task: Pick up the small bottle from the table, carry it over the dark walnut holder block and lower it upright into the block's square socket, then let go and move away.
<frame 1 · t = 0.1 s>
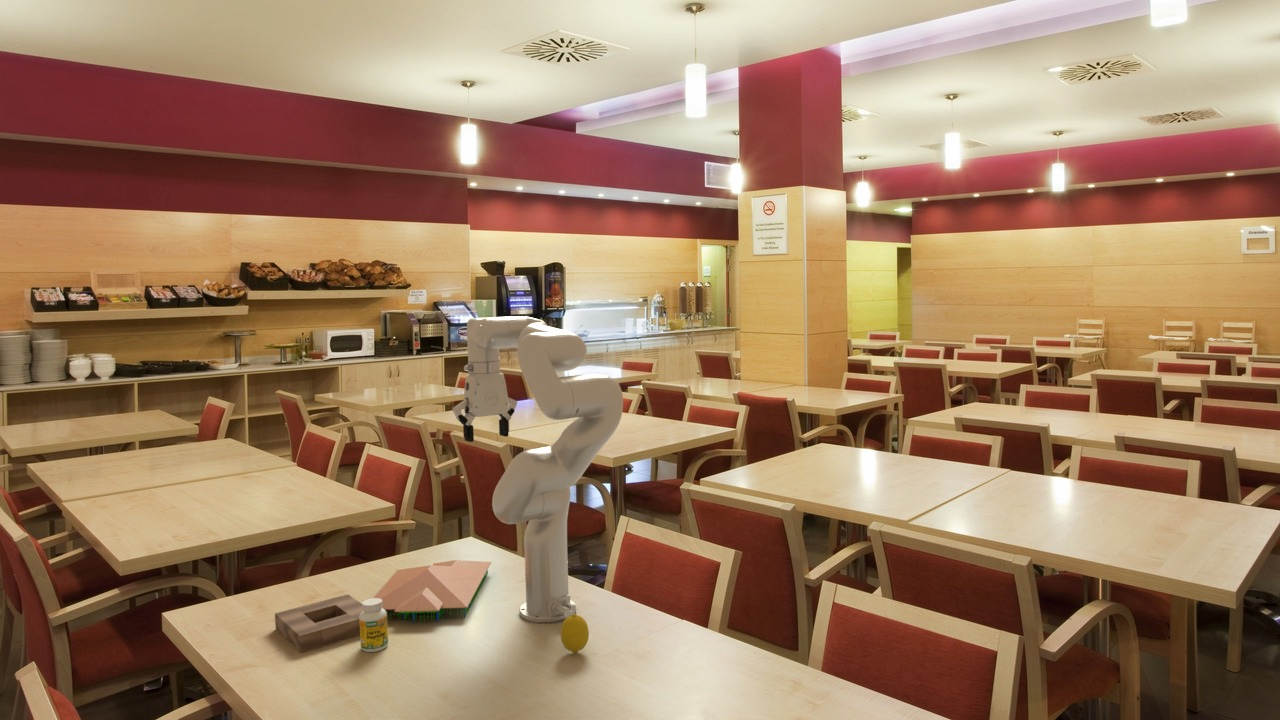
hand: (486, 438, 194), 37 cm above the table, tool pointing down, fingers open, 9 cm apart
lemon: (575, 654, 158), on the table
holder: (326, 629, 172), on the table
house: (431, 600, 189), on the table
supplement bottle: (374, 648, 163), on the table
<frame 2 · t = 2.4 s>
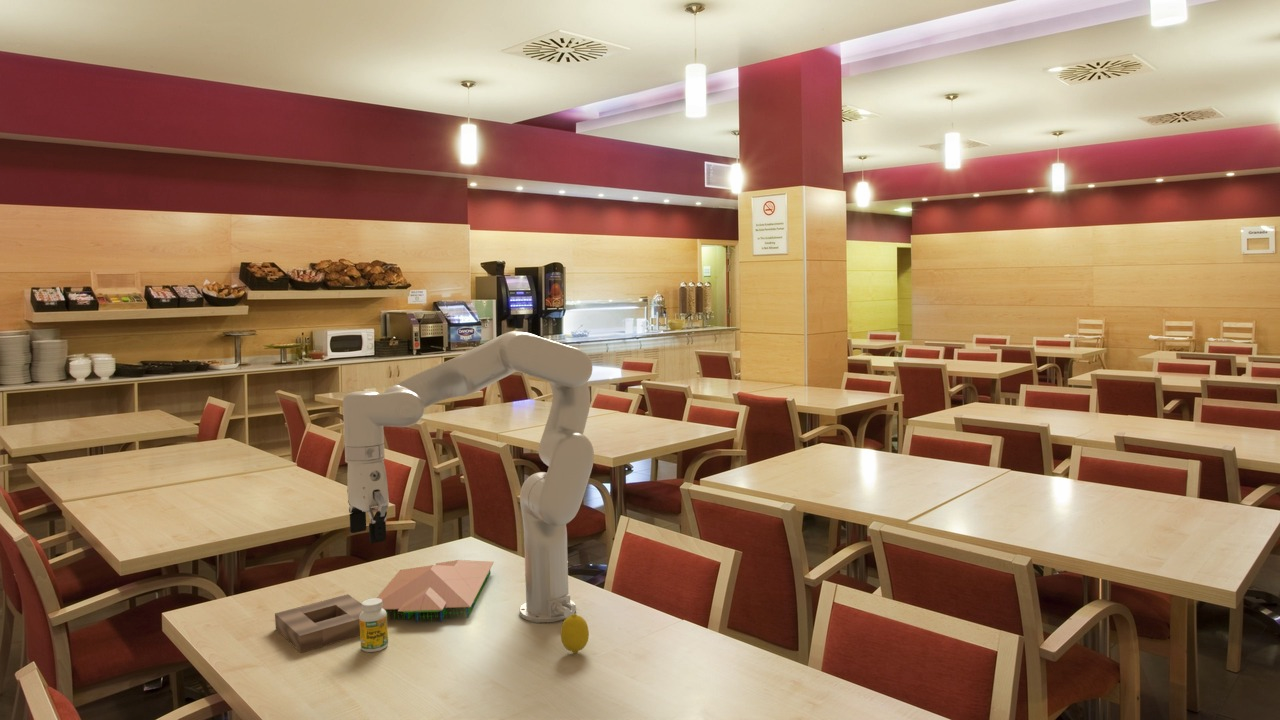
hand: (367, 536, 161), 23 cm above the table, tool pointing down, fingers open, 9 cm apart
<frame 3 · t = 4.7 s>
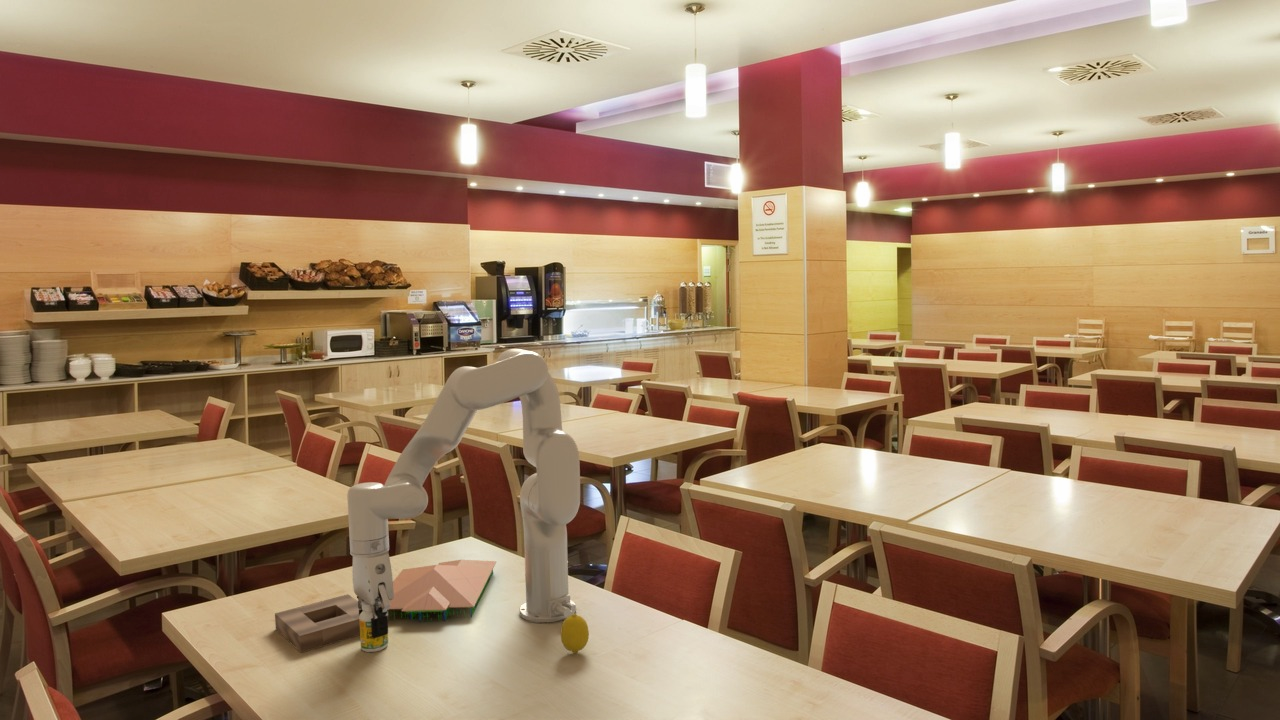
hand: (373, 630, 163), 4 cm above the table, tool pointing down, fingers closed on supplement bottle, 5 cm apart
supplement bottle: (374, 648, 163), on the table, touching gripper
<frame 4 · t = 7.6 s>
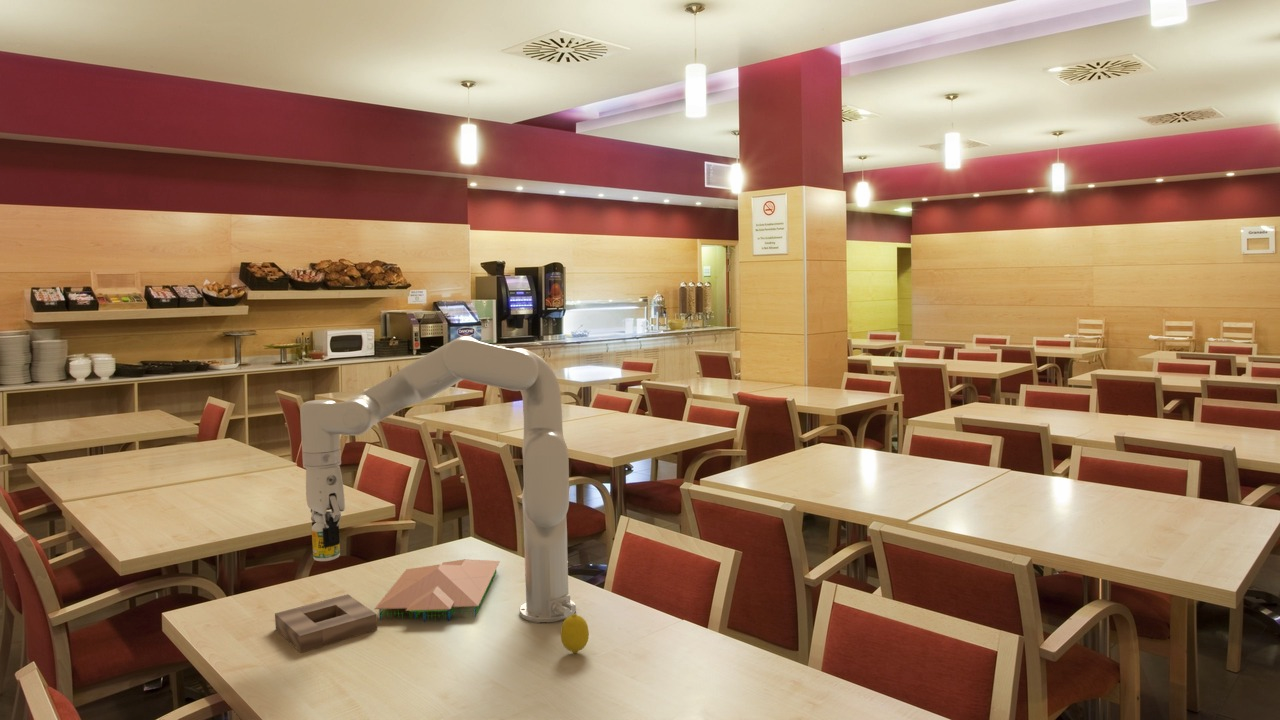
hand: (326, 541, 170), 20 cm above the table, tool pointing down, fingers closed on supplement bottle, 5 cm apart
supplement bottle: (326, 558, 170), point 16 cm above the table, touching gripper
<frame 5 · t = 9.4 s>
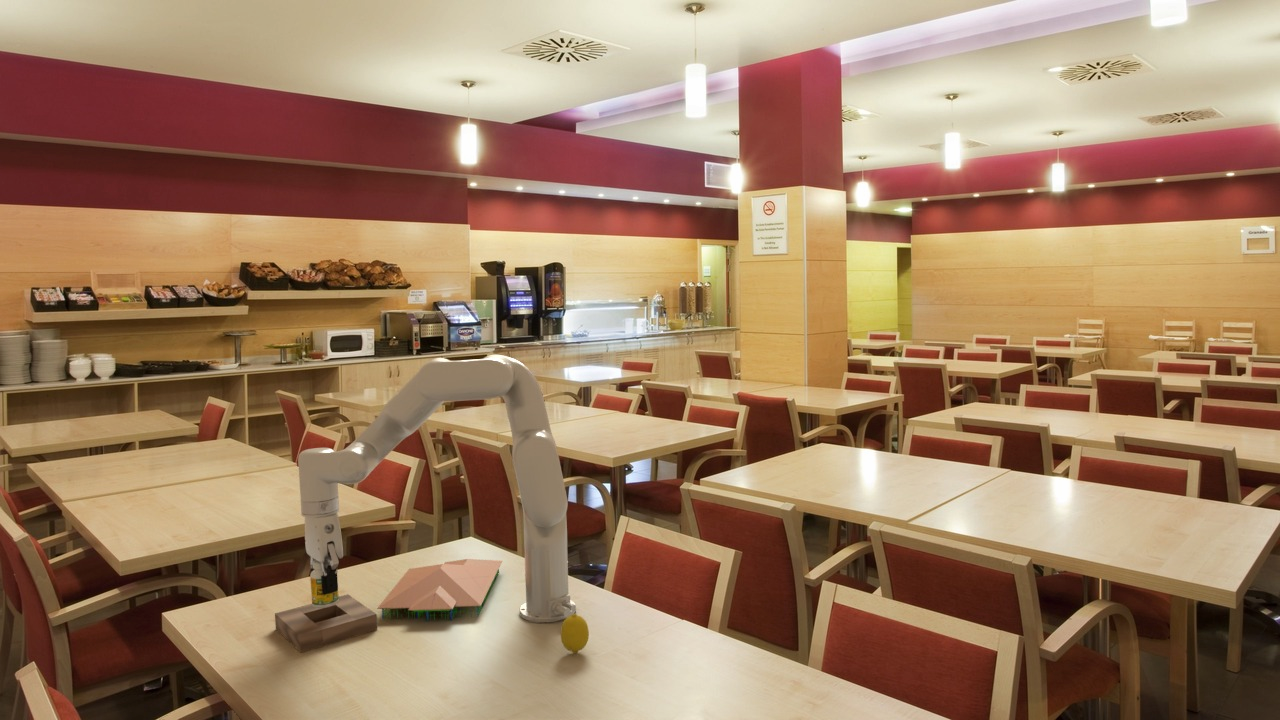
hand: (324, 588, 171), 9 cm above the table, tool pointing down, fingers closed on supplement bottle, 5 cm apart
supplement bottle: (325, 604, 172), point 5 cm above the table, touching gripper
when the fingers open (5 cm above the table, at t = 10.6 s): supplement bottle drops 1 cm, resting on holder.
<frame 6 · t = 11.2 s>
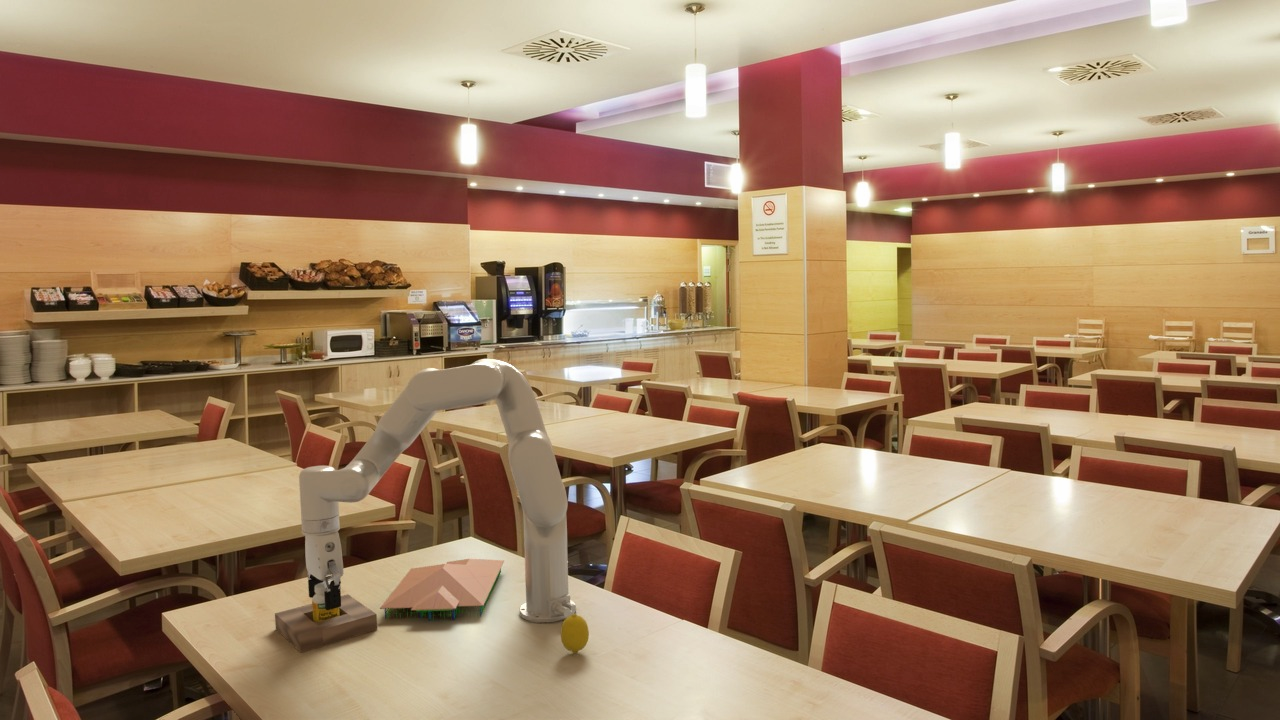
hand: (324, 601, 172), 6 cm above the table, tool pointing down, fingers open, 9 cm apart
supplement bottle: (327, 628, 172), resting on holder
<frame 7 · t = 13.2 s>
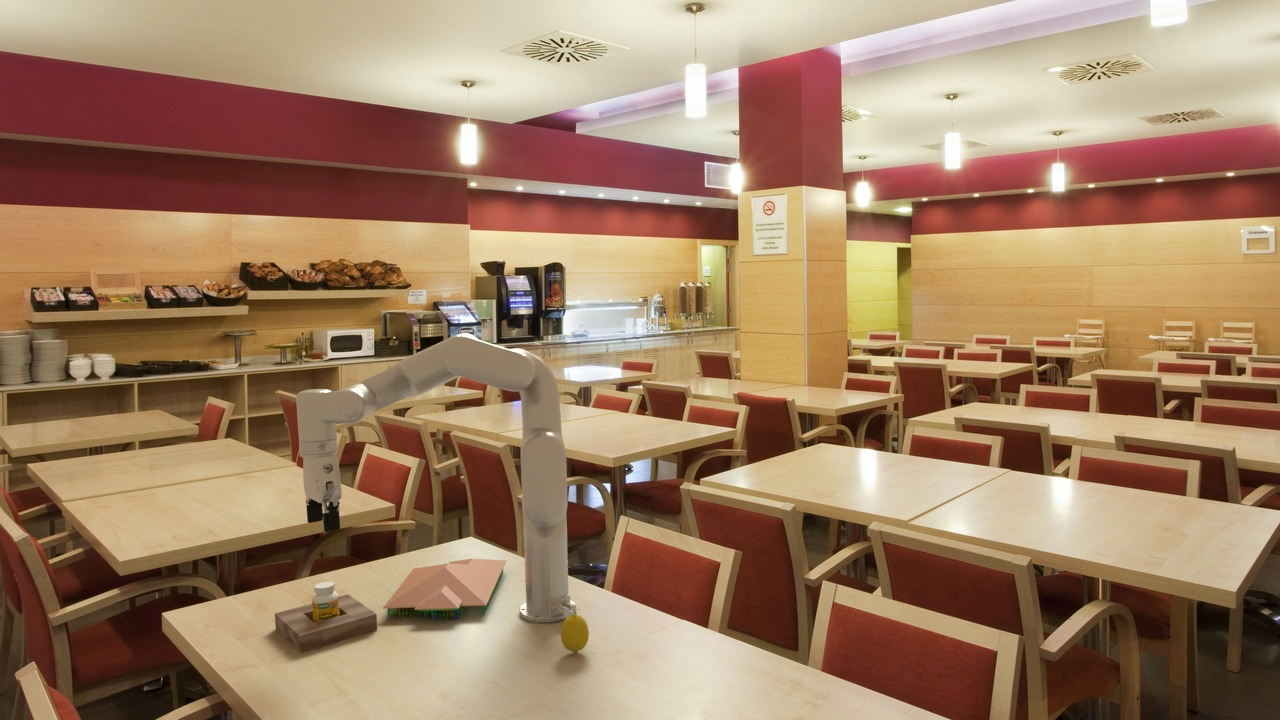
hand: (323, 526, 171), 23 cm above the table, tool pointing down, fingers open, 9 cm apart
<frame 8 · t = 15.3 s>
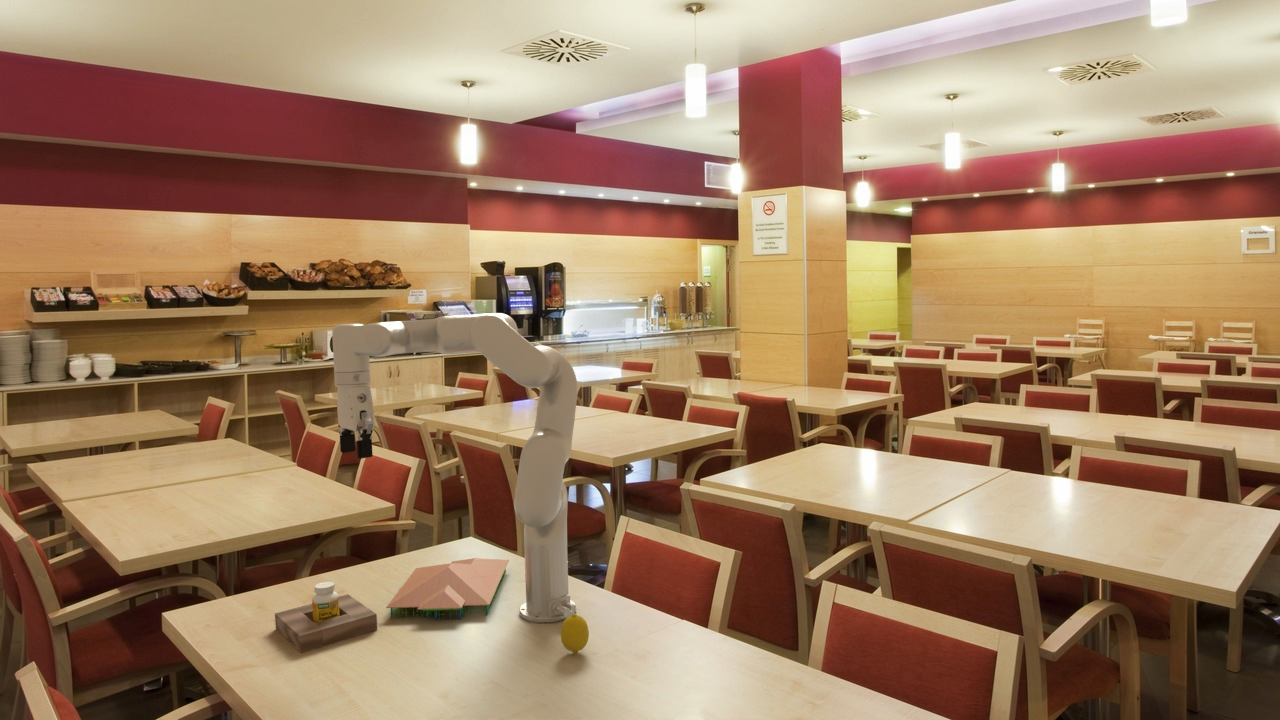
hand: (356, 454, 179), 36 cm above the table, tool pointing down, fingers open, 9 cm apart
at the end: supplement bottle 0.1 cm off-centre on the holder, point 0.1 cm above the holder's base; supplement bottle tilted 0°; the gripper is holding nothing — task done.
